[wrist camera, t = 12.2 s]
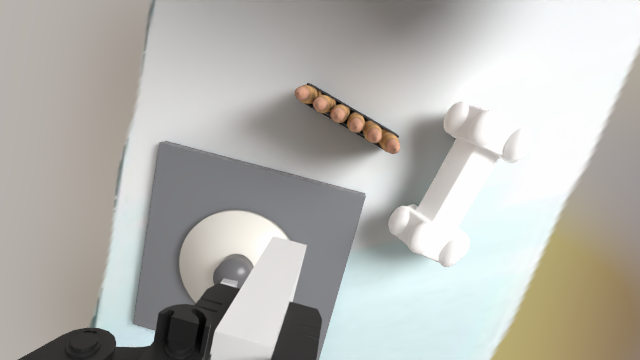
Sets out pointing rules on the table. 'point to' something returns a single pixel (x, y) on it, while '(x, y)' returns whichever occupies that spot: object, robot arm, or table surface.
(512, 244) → the table surface
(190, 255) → the dial
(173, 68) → the table surface
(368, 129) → the ammunition clip
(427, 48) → the table surface
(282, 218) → the dial base
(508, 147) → the white bone
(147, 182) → the table surface
